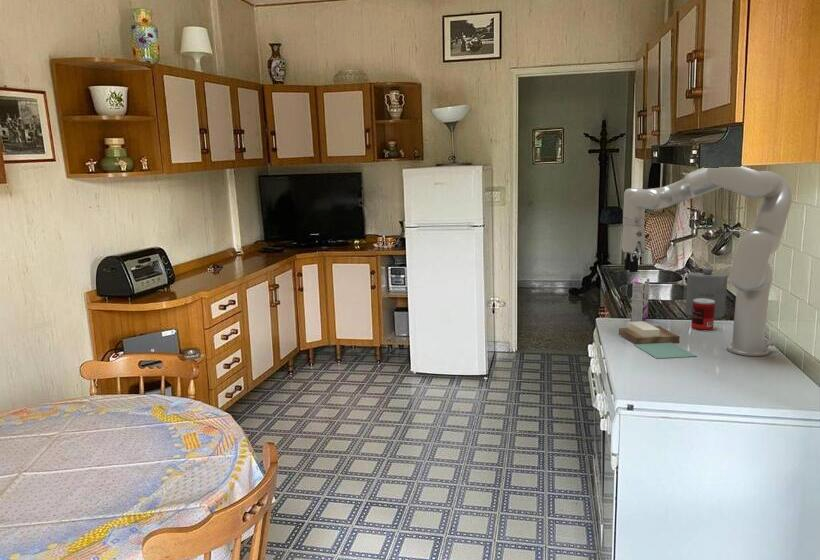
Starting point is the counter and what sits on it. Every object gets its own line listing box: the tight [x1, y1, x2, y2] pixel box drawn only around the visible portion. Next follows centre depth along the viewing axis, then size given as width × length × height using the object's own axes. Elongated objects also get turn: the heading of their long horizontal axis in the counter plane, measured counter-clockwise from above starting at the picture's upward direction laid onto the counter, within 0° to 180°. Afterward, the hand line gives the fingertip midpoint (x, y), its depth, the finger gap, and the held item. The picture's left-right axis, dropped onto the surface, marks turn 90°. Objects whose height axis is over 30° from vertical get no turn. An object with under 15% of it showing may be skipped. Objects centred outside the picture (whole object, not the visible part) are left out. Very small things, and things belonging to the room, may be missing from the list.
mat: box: [633, 343, 697, 360], centre depth 216 cm, size 14×16×1 cm
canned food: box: [691, 298, 715, 331], centre depth 243 cm, size 8×8×11 cm
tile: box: [627, 321, 660, 337], centre depth 230 cm, size 6×12×2 cm, turn 7°
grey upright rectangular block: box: [684, 267, 728, 319], centre depth 261 cm, size 15×6×20 cm, turn 70°
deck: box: [618, 325, 681, 345], centre depth 230 cm, size 16×14×2 cm
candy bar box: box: [630, 277, 650, 322], centre depth 257 cm, size 11×5×16 cm, turn 150°
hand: (631, 270), depth 238 cm, fingers open, 3 cm apart
